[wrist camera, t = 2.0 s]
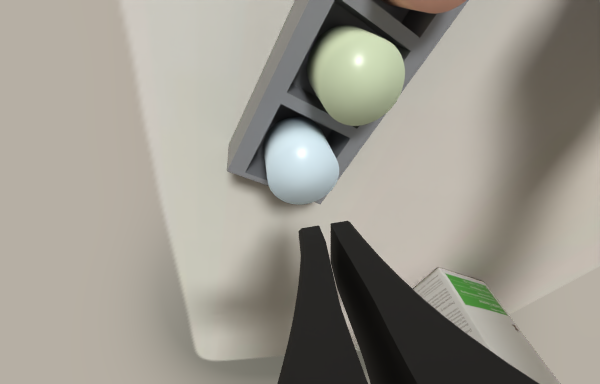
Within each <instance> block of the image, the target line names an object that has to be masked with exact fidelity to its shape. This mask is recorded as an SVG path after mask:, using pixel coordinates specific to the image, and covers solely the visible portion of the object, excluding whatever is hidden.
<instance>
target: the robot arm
mask: <svg viewBox="0 0 600 384" xmlns="http://www.w3.org/2000/svg"><path fill="white" fill-rule="evenodd" d="M299 241H300V251H301V264H300V276H299V286H298V293H297V299H296V306H295V312H294V317H293V323H292V327H291V332H290V337H289V341H288V345H287V350H286V354H285V357H284V362H283V366H282V370H281V373H280V377H279V381H278V384H368V382H367V380H366V377H365V375H364V372H363V369H362V366H361V364H360V361H359V358H358V355H357V353H356V350H355V347H354V344H353V342H352V339H351V336H350V333H349V330H348V327H347V324H346V321H345V319H344V316H343V313H342V310H341V306H340V302H339V299H338V295H337V290H336V286H335V281H336V284H337V288H338V291H339V294H340V296H341V299H342V302H343V305H344V307H345V310H346V313H347V315H348V318H349V321H350V323H351V326H352V329H353V331H354V334H355V337H356V339H357V342H358V345H359V347H360V350H361V353H362V356H363V359H364V362H365V365H366V369H367V372H368V376H369V379H370V383H371V384H539V383H538V382H536V381H535V380H533V379H532V378H530V377H529V376H527V375H526V374H524V373H523V372H521V371H519V370H518V369H516V368H515V367H513V366H512V365H510V364H509V363H507V362H506V361H504V360H503V359H502V358H500V357H499V356H497V355H496V354H495V353H493V352H492V351H490V350H489V349H488V348H486V347H485V346H483V345H482V344H481V343H479V342H478V341H476V340H475V339H474V338H472V337H471V336H469V335H468V334H467V333H465V332H464V331H463V330H461V329H460V328H459V327H457V326H456V325H455V324H454V323H452V322H451V321H450V320H448V319H447V318H446V317H445V316H443V315H442V314H441V313H440V312H439V311H437V310H436V309H435V308H434V307H432V306H431V305H430V304H429V303H428V302H427V301H425V300H424V299H423V298H422V297H421V296H420V295H419V294H417V293H416V292H415V291H414V290H413V289H412V288H411V287H410V286H409V285H408V284H407V283H406V282H405V281H403V280H402V279H401V278H400V277H399V276H398V275H397V274H396V273H395V272H394V271H393V270H392V269H391V268H390V267H389V266H388V265H387V264H386V263H385V262H384V261H383V260H382V258H381V257H380V256H379V255H378V254H377V253H376V252H375V251H374V250H373V249H372V248H371V247H370V245H369V244H368V243H367V242H366V241H365V240H364V239H363V237H362V236H361V235H360V234H359V233H358V231H357V230H356V229H355V228H354V227H353V225H352V224H351V223H350V222H349V221H344V222H338V223H332V224H331V263H330V259H329V254H328V250H327V245H326V241H325V239H324V236H323V234H322V232H321V229H320V227H319V226H313V227H307V228H302V229H301V230H299ZM331 265H332V268H331ZM332 269H333V272H332ZM333 273H334V277H335V281H334V277H333Z"/></svg>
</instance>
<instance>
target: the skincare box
mask: <svg viewBox="0 0 600 384" xmlns="http://www.w3.org/2000/svg"><path fill="white" fill-rule="evenodd" d="M413 290H414V291H415V292H416V293H417V294H419V295H420V296H421V297H422V298H423V299H424V300H425V301H427V302H428V303H429V304H430V305H431V306H432V307H434V308H435V309H436V310H437V311H439V312H440V313H441V314H442V315H443V316H445V317H446V318H447V319H448V320H450V321H451V322H452V323H454V324H455V325H456V326H457V327H459V328H460V329H461V330H463V331H464V332H465V333H467V334H468V335H469V336H471V337H472V338H474V339H475V340H476V341H478V342H479V343H481V344H482V345H483V346H485V347H486V348H488V349H489V350H490V351H492V352H493V353H495V354H496V355H497V356H499V357H500V358H502V359H503V360H504V361H506V362H507V363H509V364H510V365H512V366H513V367H515V368H516V369H518V370H519V371H521V372H523V373H524V374H526V375H527V376H529V377H530V378H532V379H533V380H535V381H536V382H538V383H539V384H560V383H559V381H558V380H557V379H556V377H555V376H554V375H553V373H552V372H551V371H550V369H549V368H548V367H547V365H546V364H545V363H544V361H543V360H542V359H541V357H540V356H539V355H538V353H537V352H536V351H535V350H534V348H533V347H532V345H531V344H530V343H529V341H528V340H527V339H526V337H525V336H524V335H523V333H522V332H521V331H520V329H519V328H518V327H517V325H516V324H515V323H514V321H513V320H512V319H511V317H510V316H509V315H508V313H507V312H506V311H505V309H504V308H503V307H502V305H501V304H500V303H499V301H498V300H497V299H496V297H495V296H494V295H493V293H492V292H491V291H490V289H489V288H488V287H487V285H486V284H485V283H484V282H482V281H479V280H476V279H473V278H470V277H467V276H464V275H461V274H457V273H454V272H451V271H448V270H445V269H442V268H437V269H435V270H434V271H433V272H432V273H431V274H430V275H429V276H427V277H426V278H425V279H424V280H423V281H422V282H420V283H419V284H418V285H417V286H416V287H415V288H413Z"/></svg>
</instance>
